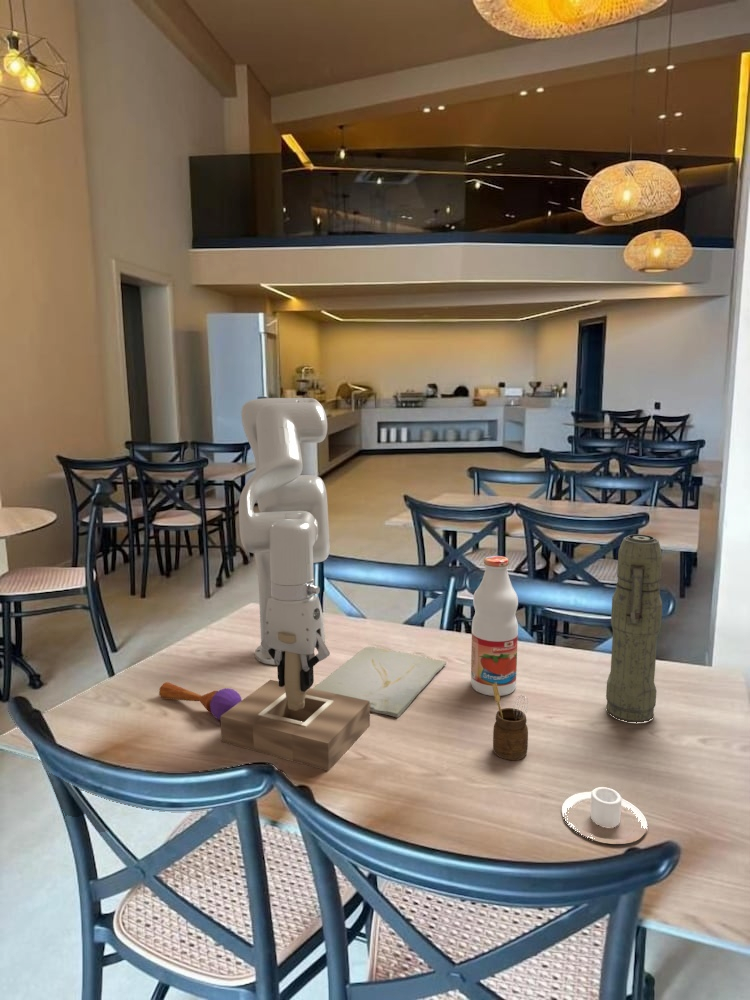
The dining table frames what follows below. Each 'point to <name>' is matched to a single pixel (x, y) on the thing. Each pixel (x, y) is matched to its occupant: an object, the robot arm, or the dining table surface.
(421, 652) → the dining table surface
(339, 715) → the brown flat block
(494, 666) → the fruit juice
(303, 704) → the handle
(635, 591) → the thermos
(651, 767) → the dining table surface
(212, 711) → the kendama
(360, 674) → the decorative slab
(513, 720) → the utensil holder
